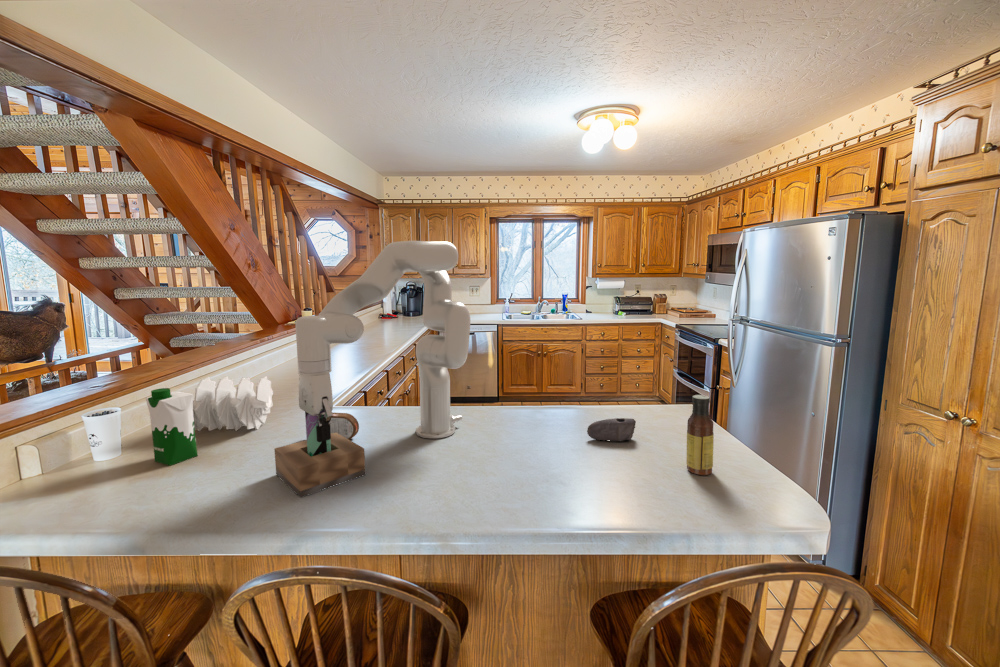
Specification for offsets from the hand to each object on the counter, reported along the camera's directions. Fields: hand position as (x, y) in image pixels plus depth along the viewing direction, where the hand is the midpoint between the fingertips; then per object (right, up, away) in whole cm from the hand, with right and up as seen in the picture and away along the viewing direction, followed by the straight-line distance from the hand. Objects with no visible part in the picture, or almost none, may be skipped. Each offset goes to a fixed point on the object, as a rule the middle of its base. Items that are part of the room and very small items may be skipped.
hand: (318, 436), depth 109 cm
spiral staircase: (-43, -6, +34) cm, 55 cm away
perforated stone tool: (+80, -7, +25) cm, 84 cm away
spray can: (0, -7, +1) cm, 7 cm away
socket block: (0, -10, +1) cm, 10 cm away
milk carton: (-44, -9, +11) cm, 46 cm away
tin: (-6, -7, +25) cm, 27 cm away
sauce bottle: (+97, -10, +4) cm, 97 cm away
